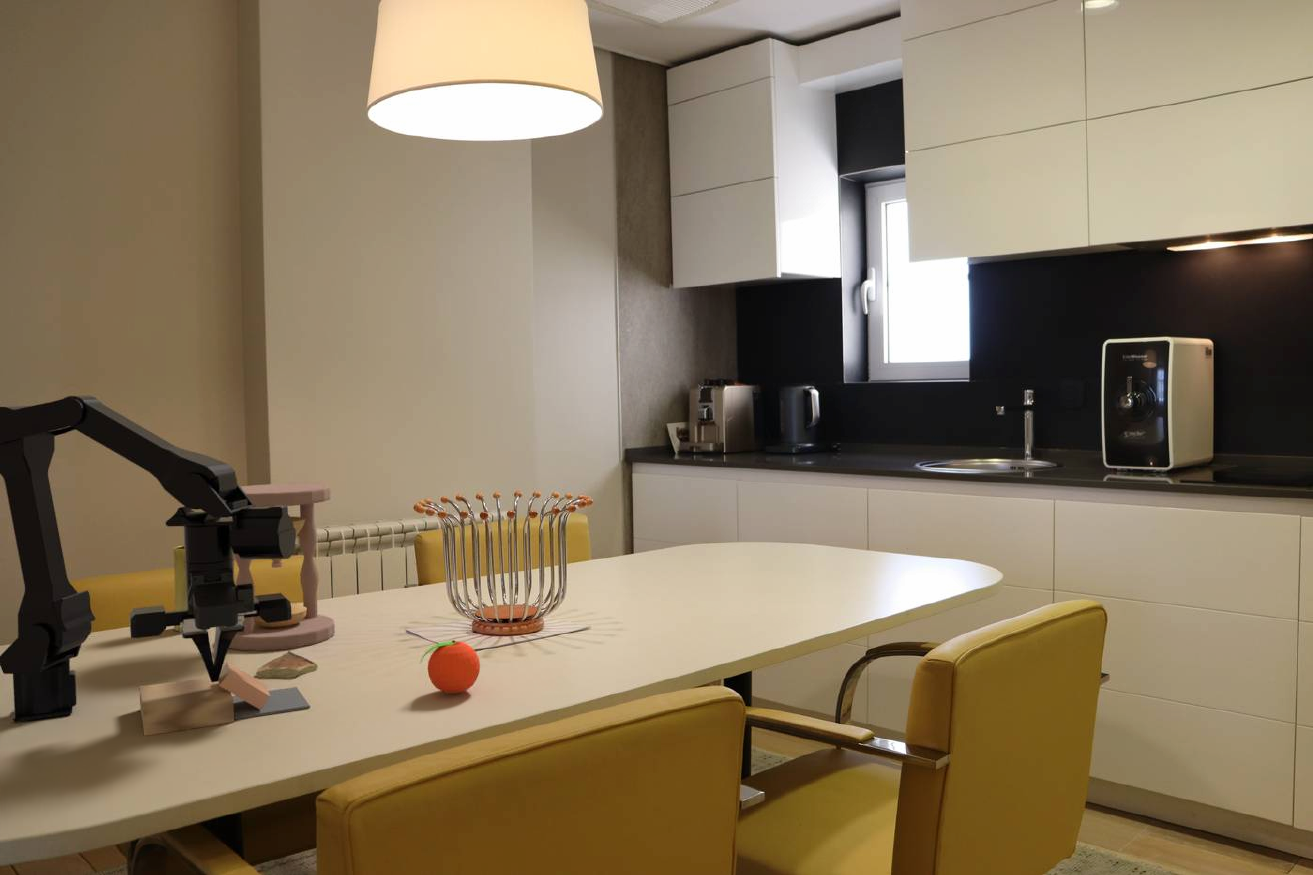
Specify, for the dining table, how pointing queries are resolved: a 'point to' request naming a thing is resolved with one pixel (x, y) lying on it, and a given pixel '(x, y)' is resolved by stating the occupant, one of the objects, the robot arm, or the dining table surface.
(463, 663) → the clementine
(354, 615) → the dining table surface
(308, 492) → the hourglass
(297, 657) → the shard
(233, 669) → the pink square block
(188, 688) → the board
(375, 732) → the dining table surface
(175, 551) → the vase
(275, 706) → the mat
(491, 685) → the dining table surface
